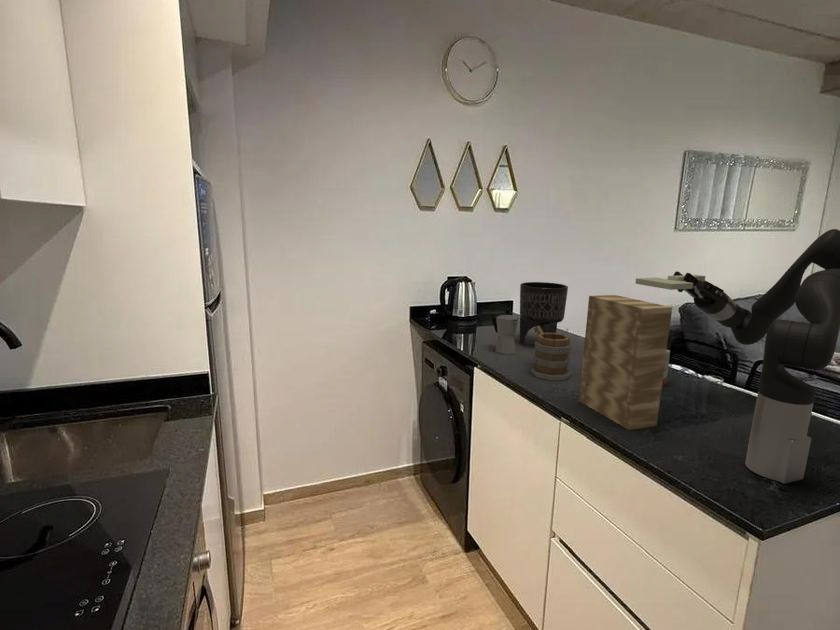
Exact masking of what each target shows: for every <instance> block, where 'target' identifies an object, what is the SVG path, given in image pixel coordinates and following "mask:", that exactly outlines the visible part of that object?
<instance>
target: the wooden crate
mask: <svg viewBox="0 0 840 630" xmlns="http://www.w3.org/2000/svg"><path fill="white" fill-rule="evenodd" d="M587 305H588V306H587V312H586V313H587V314H586V315H587V316H586V326H585V333H584V334H585V336H584V347H583V354H582V355H583V357H582V368H581V377H580V386H579V387H580V388H579V399H578V402H579V403H581V404H583V405H584V404H585V406H586V405H587V406H586V407H588V408H590V409H591V408H592V409H591V410H593V409H594V411H595V412H597V413H598V412H599V413H598V414H600V415H602V416H603V417H605V418H607V419H609V420H610V421H612V420H613V421H612V422H614V423H616V424H617V425H619V424H620V426H621V427H623V428H625V429H626V430H628V431H635V430H639V429H645V428H651V427H657V424H658V418H659V417H658V416H659V411H660V410H659V409H660V402H661V395H662V388H663V387H662V381H663V374H664V366H665V359H666V351H667V350H668V345H669V342H668V341H669V336H670V328H671V322H672V313H673V307H672V306H669V305H664V304H658V303H654V302H650V301H645V300H640V299H635V298H630V297H628V296H627V297H626V296H622V295H617V294H603V295H602V294H601V295H589V296H588V304H587ZM634 429H635V430H634Z"/></svg>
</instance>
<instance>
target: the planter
mask: <svg viewBox="0 0 840 630" xmlns="http://www.w3.org/2000/svg"><path fill="white" fill-rule="evenodd" d="M568 290H569V286H568V285H566V284H564V283H563V284H562V283H558V282H557V283H556V282H544V281H543V282H542V281H529V282H522V283H520V285H519V316H520V317H519V343H520V344H524V343H526V338H527V334H528V333H529V331H530V330H531V329H533V328H535V327H536V326H540V328H541V329H542V331H543V333H557V331H558V330H557V327H558V324H559V323H561V322H563V321H564V319H565V313H566V305H567V300H568V299H567V298H568V292H569V291H568Z"/></svg>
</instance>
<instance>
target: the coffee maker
mask: <svg viewBox="0 0 840 630" xmlns="http://www.w3.org/2000/svg"><path fill="white" fill-rule="evenodd" d="M511 311H512V309H510V308H505V309H504V313H505V314H501V313H500V314H493V316H492V318H491V322H492V324H493V327H494V331H495V333H496V334H497V333H498V336H497V341H496V346H495V349H494V350H495V351H494V352H495V353H496V354H499V355H507V356H511V355H515V354H516V346H515V345H516V343H515V335H516V332H517V328H518V323H520V320H519V317H517V316H514V315H513V314H512V315H511Z"/></svg>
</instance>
